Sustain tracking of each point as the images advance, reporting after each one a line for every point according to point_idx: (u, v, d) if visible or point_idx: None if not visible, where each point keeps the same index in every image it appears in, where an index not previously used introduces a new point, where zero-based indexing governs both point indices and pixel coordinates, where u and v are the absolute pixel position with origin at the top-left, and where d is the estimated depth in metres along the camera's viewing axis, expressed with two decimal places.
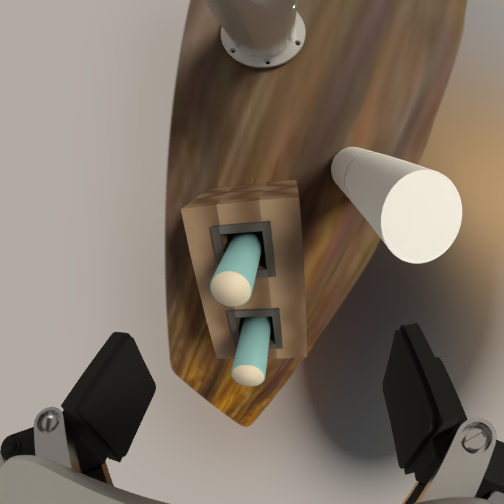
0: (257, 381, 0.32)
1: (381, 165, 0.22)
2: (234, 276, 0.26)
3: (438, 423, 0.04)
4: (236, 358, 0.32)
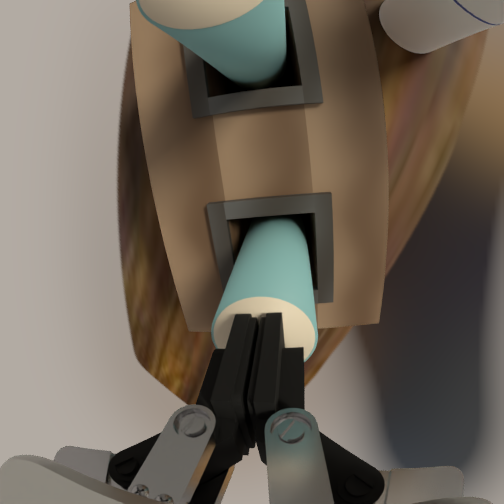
0: None
1: None
2: None
3: None
4: (228, 287, 0.11)
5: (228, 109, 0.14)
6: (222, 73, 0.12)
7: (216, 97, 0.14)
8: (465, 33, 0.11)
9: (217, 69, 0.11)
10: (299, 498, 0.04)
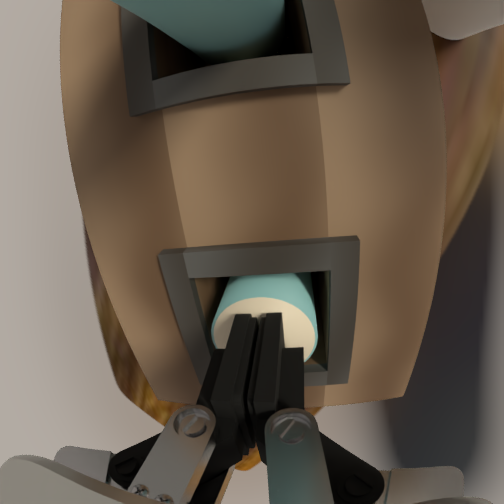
0: None
1: None
2: None
3: None
4: (228, 287, 0.11)
5: (185, 97, 0.08)
6: (171, 36, 0.06)
7: (165, 79, 0.07)
8: None
9: (155, 26, 0.05)
10: (299, 498, 0.04)
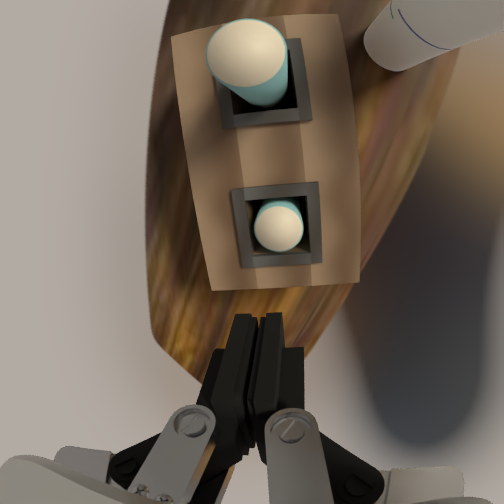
0: (292, 239, 0.23)
1: None
2: (253, 27, 0.11)
3: None
4: (261, 208, 0.24)
5: (248, 123, 0.21)
6: None
7: (239, 115, 0.20)
8: (428, 56, 0.18)
9: (242, 97, 0.18)
10: (299, 498, 0.04)
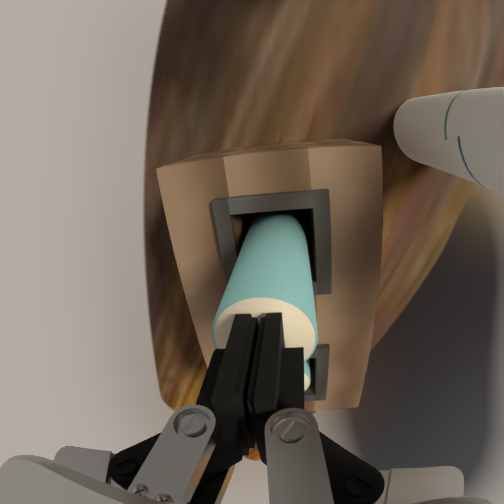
0: None
1: None
2: (276, 310, 0.10)
3: None
4: None
5: None
6: None
7: None
8: None
9: None
10: (299, 498, 0.04)
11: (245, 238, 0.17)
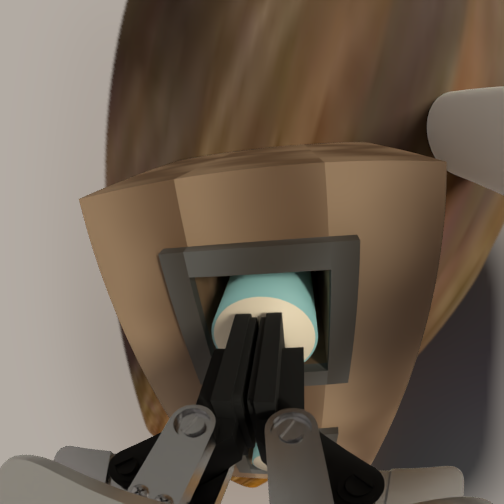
0: None
1: None
2: (276, 310, 0.10)
3: None
4: None
5: None
6: None
7: None
8: None
9: None
10: (299, 498, 0.04)
11: None
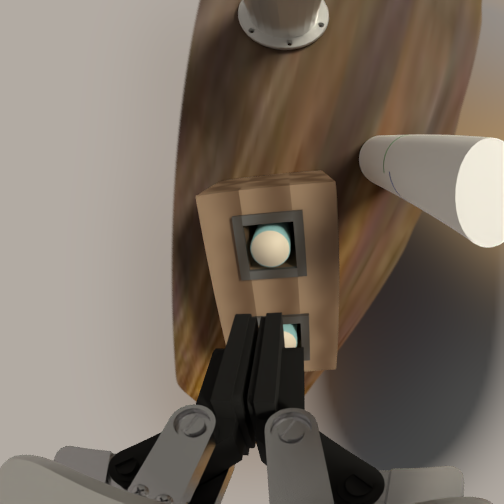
0: None
1: (436, 139, 0.17)
2: (274, 235, 0.28)
3: None
4: None
5: (260, 278, 0.30)
6: None
7: (253, 271, 0.30)
8: None
9: None
10: (299, 498, 0.04)
11: None
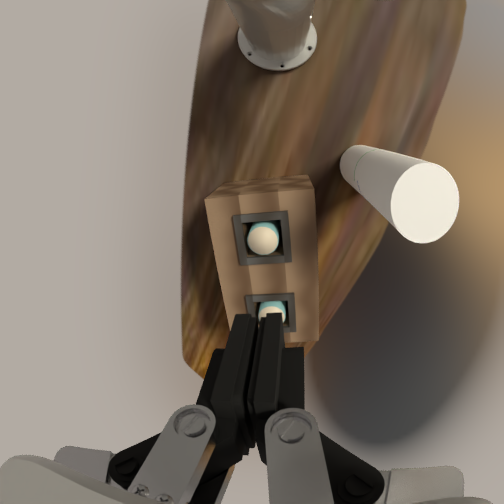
0: None
1: (389, 160, 0.25)
2: (266, 230, 0.36)
3: None
4: (262, 303, 0.43)
5: (255, 263, 0.39)
6: None
7: (250, 258, 0.39)
8: None
9: None
10: (299, 498, 0.04)
11: None
